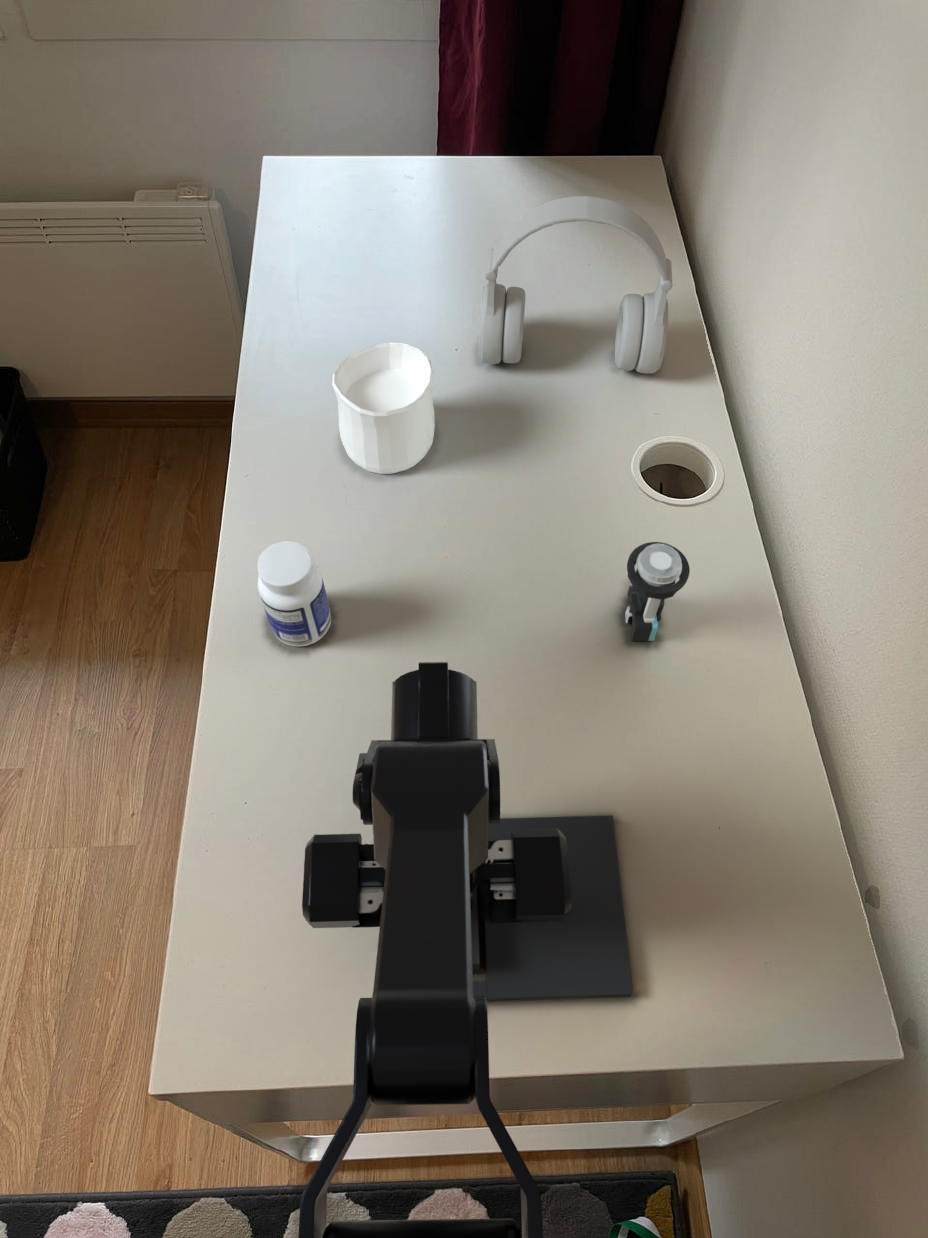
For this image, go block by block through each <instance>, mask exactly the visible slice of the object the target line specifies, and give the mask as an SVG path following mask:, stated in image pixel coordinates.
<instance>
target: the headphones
mask: <svg viewBox="0 0 928 1238" xmlns="http://www.w3.org/2000/svg"><path fill="white" fill-rule="evenodd" d="M575 222H590V223H596V224H601V225H605V226H610V227H614V228H616V229H618V230H620V231H621V232H624V233H626V234H627V235H629V236H630V237H632V238H634V239H635V240H637V241H638V242H639V244H640V245H642V247H643V248H644V249H645V250H646V251H647V253H648V254H649V255H650V257H651V260H652V262H653V264H654V266H655V268H656V270H657V272H658V273H659V276H658V280H657V283H656V286H655V290H654V291H653V292H647V293H644V294H643V295H641V294H639V293H628V294H625V295H624V296H623V297H622V299H621V301H620V305H619V309H618V315H617V322H616V330H615V339H614V340H615V341H614V344H615V345H614V361H615V365H616V368H617V369H619V370H622V371H633V370H635V372H637V373H640V374H647V375H648V374H655V373H656V372H657V371H659V370H660V368H661V366H662V363H663V360H664V355H665V350H666V345H667V337H668V329H669V328H668V327H669V300H668V299H667V297H668V292H670V291H671V290H672V289H673V268H672V260H671V259H669V258H667V256H666V254H665V250H664V248H663V245H662V243H661V241H660V238H659V236H658V234H657V233H656V232H655V230H654V229H653V228H652V226H651V225H650V224H649V223H648V222H647V221H646V220H645V219H644V218H643V217H642V216H640V215H639V214H638V213H636V212H635V211H634V210H632V209H631V208H629V207H628V206H625V205H623V204H621V203H619V202H617V201H614V200H611V199H607V198H604V197H597V196H588V195H585V196H584V195H582V196H579V195H578V196H576V195H575V196H567V197H562V198H557V199H553V200H550V201H547V202H544V203H541V204H540V205H538V206H535V207H534V208H532V209H529V210H528V211H527V212H525V213H524V214H522V215H521V216H520V217H518V218H517V219H516V220H515V221H514V222H513V223H512V224H511V225H510V226H509V227H508V228H507V229H506V230H505V232H504V233H503V234H502V236H501V237H500V239H499V240H498V242H497V243H496V245H495V247H494V248H490V249H488V250H487V256H486V267H485V279H486V280H487V281H488V283H487V284H486V285H485V286H483V287H482V289H481V297H480V305H479V307H480V308H479V317H478V337H477V338H478V339H477V347H478V348H477V353H478V355H477V356H478V360H480V361H481V363H482V364H488V365H496V364H500V363H501V362H503V363H505V364H518V363H519V362H520V360H521V358H522V350H523V338H524V337H523V336H524V325H525V310H526V291H525V289H524V288H522V287H519V286H509V287H507V288H506V286H505V285H504V284H499V283H497V278H498V273H499V268H500V266H502V264H503V262H504V261H505V260H506V258H507V257H508V256H509V255H510V253H511V252H512V251H513V249H515V247H516V246H517V245H519V244H520V243H521V242H523V241H524V240H525V239H526V238H528V237H529V236H531V235H533V234H535V233H536V232H539V231H541V230H543V229H546V228H548V227H552V226H555V225H558V224H564V223H575Z"/></svg>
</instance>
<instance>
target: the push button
mask: <svg viewBox="0 0 928 1238" xmlns="http://www.w3.org/2000/svg"><path fill="white" fill-rule="evenodd" d="M635 566H636V568H635ZM690 568H691V567H690V563H689V561H688V559H687V558H686V556H685V554H684V553H682V551H681V550H679V549H678V548H677V547H675V546H673V545H671V544H669V543H665V542H662V541H661V542H660V541H649V542H645V543H642V544H639V545H638V546H637V547H635V548H634V549H633V550H632V551H631V553H630V554H629V556H628V559H627V562H626V571H627V578H628V580H629V582H630V584H631V585H629V587H628V591H627V600H628V601H629V605H627V607H626V610H625V612H624V613H625V614H624V617H625V624H629V621H630V618H631V620H632V622H631V627H630V631H629V636H630V641H631V642H642V641H643V642H654V641H655V639H656V638H655V637H656V635H657V631H658V629H659V622H661V620H662V612H663V610H664V607H665V603H666V601H665V600H667V599H670V598H673V597H674V596H675V595H676V594H677V592H679V591H680V590H682V588H684V587H685V585H686V584H687V582H688V579H689V576H690V571H691V569H690Z"/></svg>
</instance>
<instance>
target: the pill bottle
mask: <svg viewBox="0 0 928 1238" xmlns="http://www.w3.org/2000/svg"><path fill="white" fill-rule="evenodd" d="M256 568H257V572H258V576H257V577H258V578H257V592H258V594H259V598H260V600H261V603H262V607H263V609H264V612H265V614H266V618H267V621H268V624H269V626H270V629H271V631H272V633H273V635H274V636H275V637H276V638H277V639H278V640H279V641H280V642H281V643H283V644H285V645H287V646H291V647H306V646H309V645H312V644H315V643H317V642H318V641H319V640H321V639H322V638H323V637H324V636H325V635H326V634H327V633H328V631H329V629H330V627H331V623H332V611H331V608H330V603H329V599H328V594H327V591H326V586H325V583H324V579H323V574H322V572H321V569H320V567H319V566H318V565H317V563H316V562H315V561H314V560H313V558H312V554H311V552H310V551H309V549H308V548H307V547H306V546H305V545H304V544H302V543H299V542H298V541H297V542H296V541H292V540H283V541H279V542H275V543H273V544H271V545H269V546H268V547H266V548H265V549H264V550H263V551H262V552H261V554H260V556H259V557H258V561H257V567H256Z"/></svg>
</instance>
